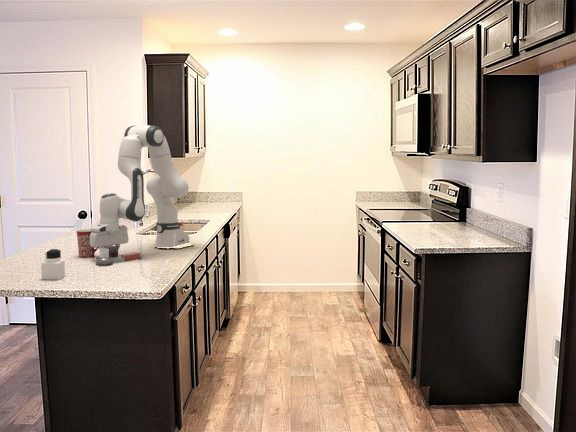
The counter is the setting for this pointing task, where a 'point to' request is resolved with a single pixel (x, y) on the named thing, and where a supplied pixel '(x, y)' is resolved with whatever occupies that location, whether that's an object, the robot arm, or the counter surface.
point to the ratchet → (106, 260)
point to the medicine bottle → (53, 265)
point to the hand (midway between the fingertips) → (109, 254)
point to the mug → (85, 243)
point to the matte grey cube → (112, 251)
